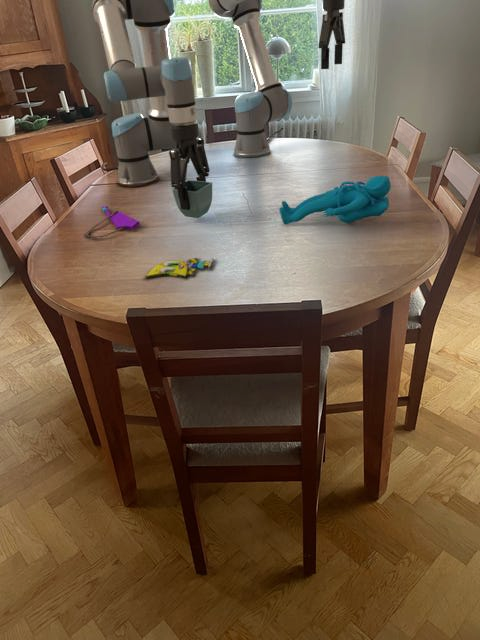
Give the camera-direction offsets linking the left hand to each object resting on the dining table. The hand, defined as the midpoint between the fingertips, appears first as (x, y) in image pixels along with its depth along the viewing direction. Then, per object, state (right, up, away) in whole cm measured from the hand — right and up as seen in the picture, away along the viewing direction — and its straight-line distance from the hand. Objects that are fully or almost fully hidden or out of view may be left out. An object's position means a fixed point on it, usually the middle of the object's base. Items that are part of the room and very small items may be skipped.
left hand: (194, 203), depth 142 cm
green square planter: (0, -3, +2) cm, 3 cm away
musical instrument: (-27, -5, +6) cm, 29 cm away
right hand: (+47, +58, +33) cm, 82 cm away
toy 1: (-1, -22, -24) cm, 32 cm away
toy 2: (+40, -7, -6) cm, 41 cm away
